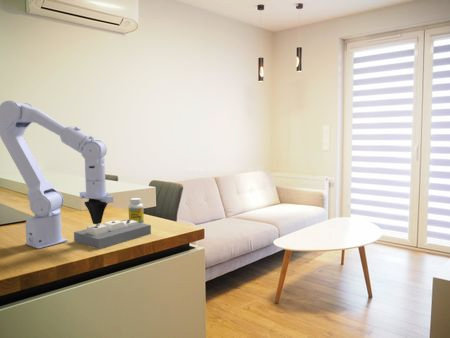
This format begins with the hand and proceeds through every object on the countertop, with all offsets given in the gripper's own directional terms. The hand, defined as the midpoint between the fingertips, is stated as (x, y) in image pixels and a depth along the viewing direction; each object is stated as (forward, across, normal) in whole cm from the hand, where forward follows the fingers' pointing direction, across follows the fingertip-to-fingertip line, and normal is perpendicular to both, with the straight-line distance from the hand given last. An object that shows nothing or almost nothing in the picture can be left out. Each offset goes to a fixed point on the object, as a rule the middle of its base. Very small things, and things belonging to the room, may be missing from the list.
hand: (97, 223), depth 110 cm
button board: (+6, 0, -6) cm, 8 cm away
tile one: (+4, 0, -6) cm, 7 cm away
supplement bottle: (+6, +8, -22) cm, 24 cm away
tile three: (+5, 0, -12) cm, 13 cm away
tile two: (+4, 0, 0) cm, 4 cm away
